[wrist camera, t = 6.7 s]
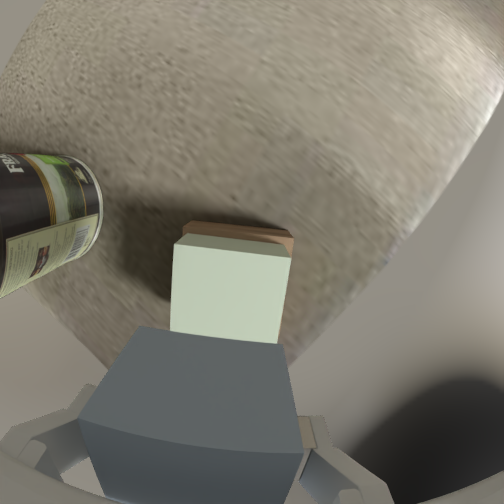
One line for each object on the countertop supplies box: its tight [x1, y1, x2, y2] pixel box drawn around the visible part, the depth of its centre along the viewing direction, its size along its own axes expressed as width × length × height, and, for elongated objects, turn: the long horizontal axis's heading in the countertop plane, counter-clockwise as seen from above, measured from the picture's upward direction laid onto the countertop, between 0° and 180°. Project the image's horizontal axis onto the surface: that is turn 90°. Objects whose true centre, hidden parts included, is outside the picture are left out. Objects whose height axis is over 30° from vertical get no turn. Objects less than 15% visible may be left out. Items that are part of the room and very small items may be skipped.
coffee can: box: [0, 153, 103, 299], centre depth 18 cm, size 10×10×14 cm
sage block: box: [170, 233, 291, 344], centre depth 21 cm, size 7×7×4 cm
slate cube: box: [77, 326, 304, 504], centre depth 8 cm, size 5×5×5 cm
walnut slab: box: [182, 220, 294, 338], centre depth 25 cm, size 8×8×4 cm
